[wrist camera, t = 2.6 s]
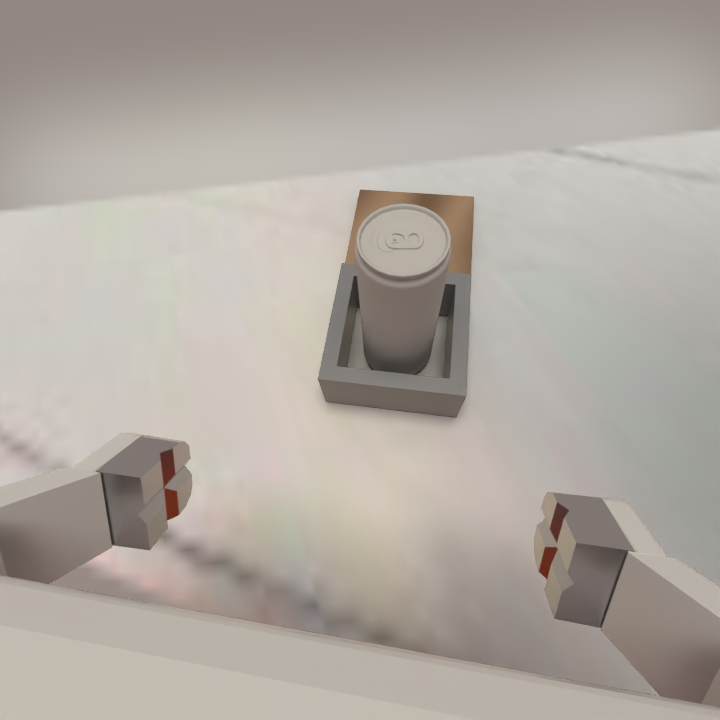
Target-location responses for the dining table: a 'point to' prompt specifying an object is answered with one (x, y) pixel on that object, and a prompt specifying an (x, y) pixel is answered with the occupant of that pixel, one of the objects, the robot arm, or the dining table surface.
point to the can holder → (391, 386)
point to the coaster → (445, 206)
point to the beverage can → (401, 284)
